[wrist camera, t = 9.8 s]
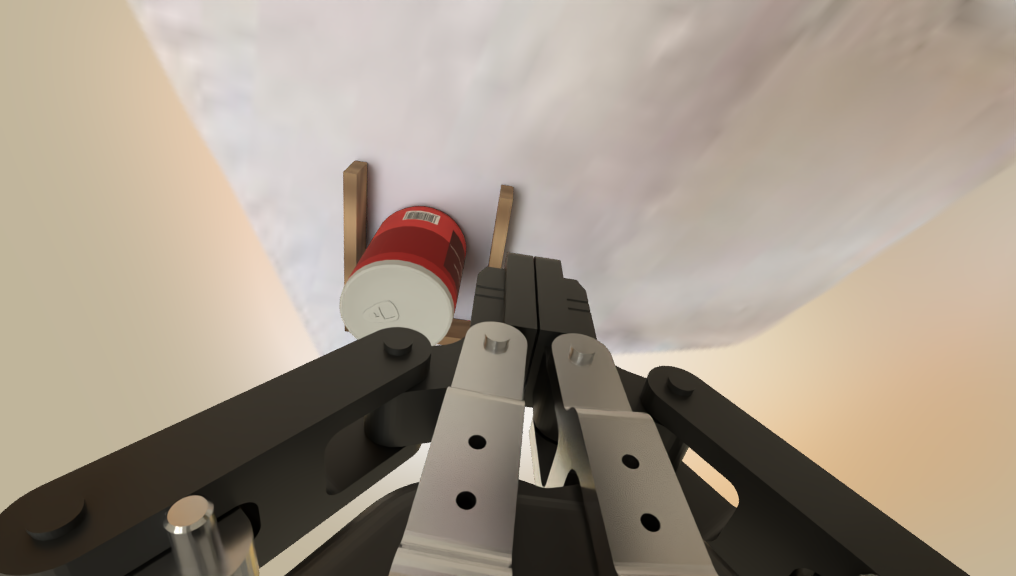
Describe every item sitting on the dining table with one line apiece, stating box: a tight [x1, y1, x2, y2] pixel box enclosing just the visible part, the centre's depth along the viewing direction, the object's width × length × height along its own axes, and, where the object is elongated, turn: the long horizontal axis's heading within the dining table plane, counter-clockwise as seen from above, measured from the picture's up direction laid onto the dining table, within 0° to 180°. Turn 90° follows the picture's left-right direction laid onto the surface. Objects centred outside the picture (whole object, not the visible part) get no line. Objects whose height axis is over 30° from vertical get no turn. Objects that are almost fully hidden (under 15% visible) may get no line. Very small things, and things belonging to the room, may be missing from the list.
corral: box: [343, 161, 513, 345], centre depth 42 cm, size 15×13×3 cm
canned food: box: [339, 206, 466, 346], centre depth 39 cm, size 8×8×11 cm
